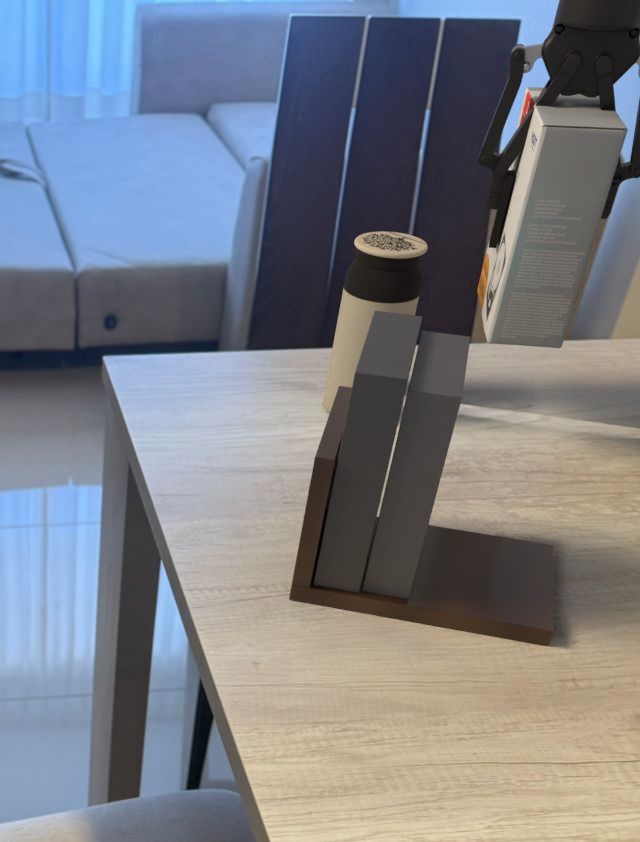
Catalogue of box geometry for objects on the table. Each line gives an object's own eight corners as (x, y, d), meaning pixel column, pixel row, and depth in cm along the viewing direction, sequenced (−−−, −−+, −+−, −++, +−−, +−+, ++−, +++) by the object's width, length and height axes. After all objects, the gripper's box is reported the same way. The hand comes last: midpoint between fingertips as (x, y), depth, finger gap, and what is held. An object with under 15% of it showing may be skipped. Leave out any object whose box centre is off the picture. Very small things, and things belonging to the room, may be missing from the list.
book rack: (548, 558, 108) (597, 420, 99) (548, 646, 97) (602, 500, 88) (313, 520, 113) (339, 385, 104) (288, 599, 102) (314, 457, 93)
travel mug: (353, 429, 128) (388, 258, 116) (307, 403, 133) (336, 236, 121) (407, 415, 131) (447, 247, 119) (360, 389, 136) (394, 226, 124)
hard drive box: (474, 293, 128) (525, 85, 114) (545, 298, 127) (606, 89, 113) (484, 344, 117) (543, 120, 103) (563, 350, 115) (633, 125, 102)
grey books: (421, 525, 109) (474, 322, 96) (408, 602, 99) (465, 387, 87) (334, 511, 111) (374, 310, 98) (312, 585, 101) (354, 372, 88)
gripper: (488, -27, 101) (428, 248, 117) (744, -16, 96) (647, 270, 112) (491, -38, 107) (434, 227, 122) (734, -28, 102) (643, 247, 117)
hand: (536, 247), depth 117 cm, fingers closed on hard drive box, 8 cm apart
